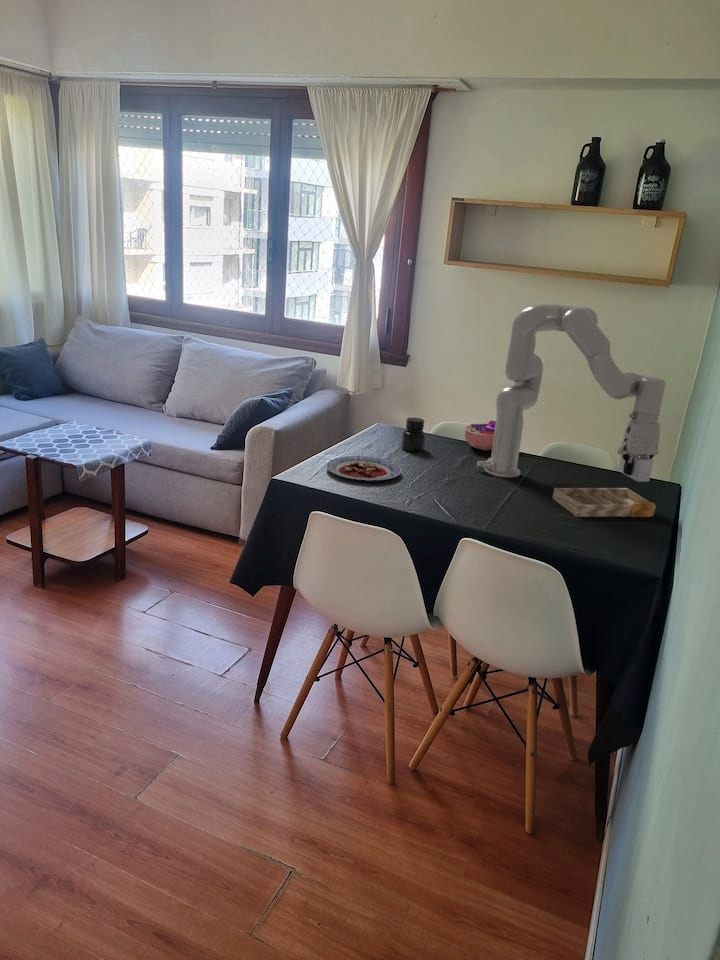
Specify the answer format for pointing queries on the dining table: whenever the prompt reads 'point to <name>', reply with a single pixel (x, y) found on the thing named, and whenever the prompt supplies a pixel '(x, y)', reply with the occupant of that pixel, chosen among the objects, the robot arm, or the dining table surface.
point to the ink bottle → (414, 435)
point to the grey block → (638, 468)
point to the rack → (603, 502)
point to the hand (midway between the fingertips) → (633, 473)
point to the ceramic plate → (363, 468)
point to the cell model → (481, 435)
